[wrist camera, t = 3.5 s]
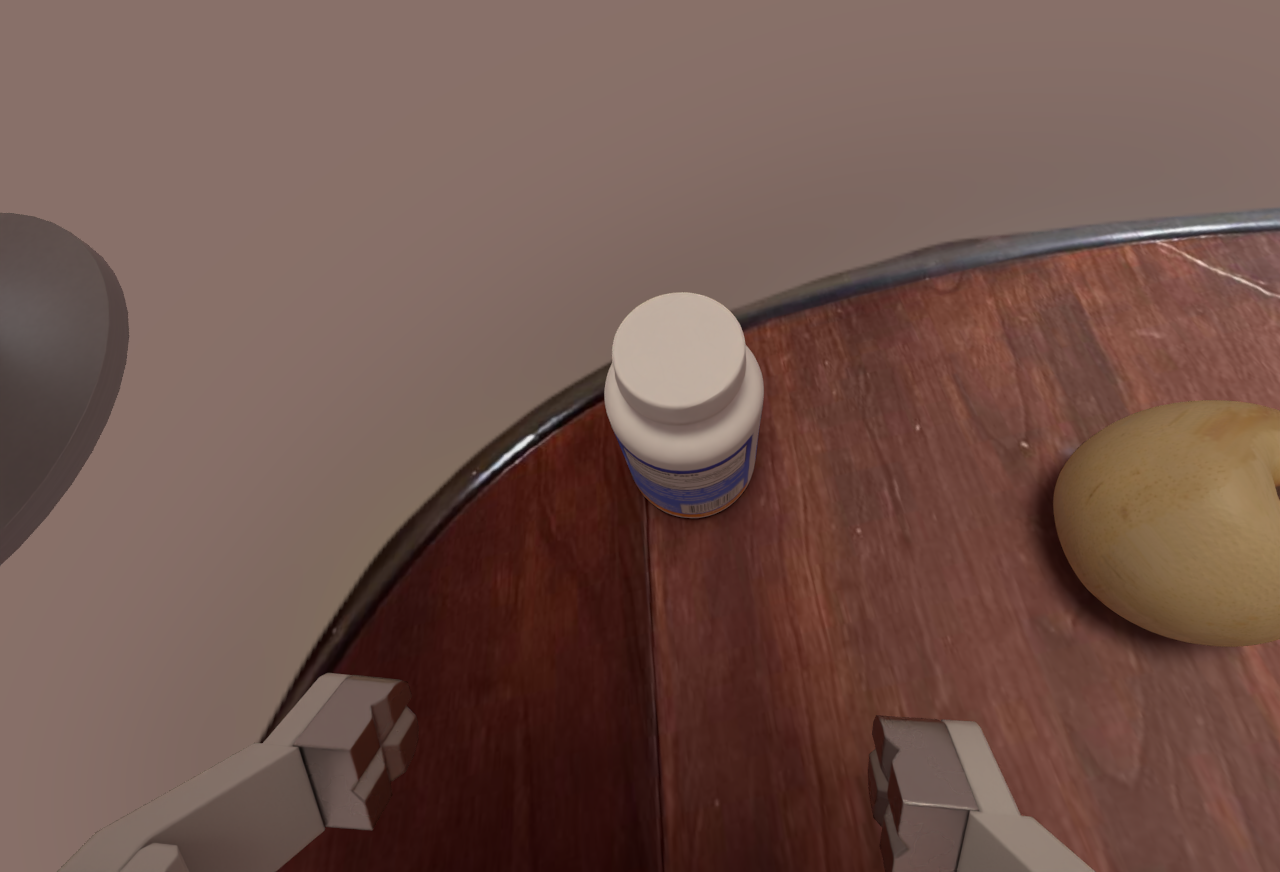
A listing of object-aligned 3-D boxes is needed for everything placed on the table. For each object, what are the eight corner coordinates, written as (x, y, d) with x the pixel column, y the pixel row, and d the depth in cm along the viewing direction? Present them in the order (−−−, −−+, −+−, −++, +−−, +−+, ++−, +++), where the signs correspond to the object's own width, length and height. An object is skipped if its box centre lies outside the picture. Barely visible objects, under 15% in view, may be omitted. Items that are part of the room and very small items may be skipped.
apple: (970, 490, 25) (1125, 337, 20) (1120, 504, 27) (1295, 370, 22) (1090, 687, 19) (1347, 550, 14) (1265, 685, 22) (1543, 565, 16)
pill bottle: (655, 392, 29) (623, 253, 20) (770, 423, 27) (790, 289, 19) (613, 500, 27) (557, 399, 18) (734, 539, 26) (738, 450, 17)
